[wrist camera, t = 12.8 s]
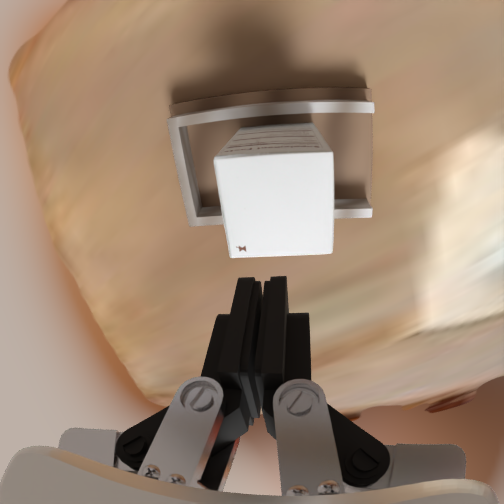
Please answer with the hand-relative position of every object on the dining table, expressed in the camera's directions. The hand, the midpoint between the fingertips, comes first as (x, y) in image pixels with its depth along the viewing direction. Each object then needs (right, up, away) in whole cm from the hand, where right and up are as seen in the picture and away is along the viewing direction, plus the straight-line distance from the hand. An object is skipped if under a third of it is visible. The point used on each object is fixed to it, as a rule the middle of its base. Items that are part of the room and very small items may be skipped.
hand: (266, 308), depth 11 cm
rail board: (+2, +12, +20) cm, 23 cm away
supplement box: (+2, +12, +18) cm, 22 cm away
